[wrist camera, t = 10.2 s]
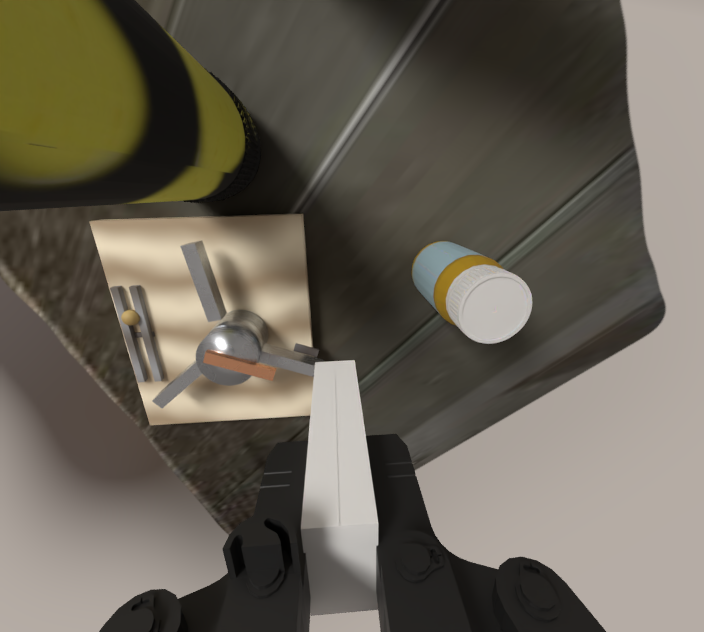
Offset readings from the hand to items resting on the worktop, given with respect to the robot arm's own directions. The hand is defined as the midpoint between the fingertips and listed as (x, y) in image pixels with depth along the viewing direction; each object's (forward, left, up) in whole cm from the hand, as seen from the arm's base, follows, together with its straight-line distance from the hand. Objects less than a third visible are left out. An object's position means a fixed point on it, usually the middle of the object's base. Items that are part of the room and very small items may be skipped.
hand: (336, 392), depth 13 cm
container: (-12, -12, -29) cm, 33 cm away
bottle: (+2, +13, -29) cm, 31 cm away
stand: (+8, -14, -28) cm, 32 cm away
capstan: (+9, -10, -26) cm, 29 cm away
